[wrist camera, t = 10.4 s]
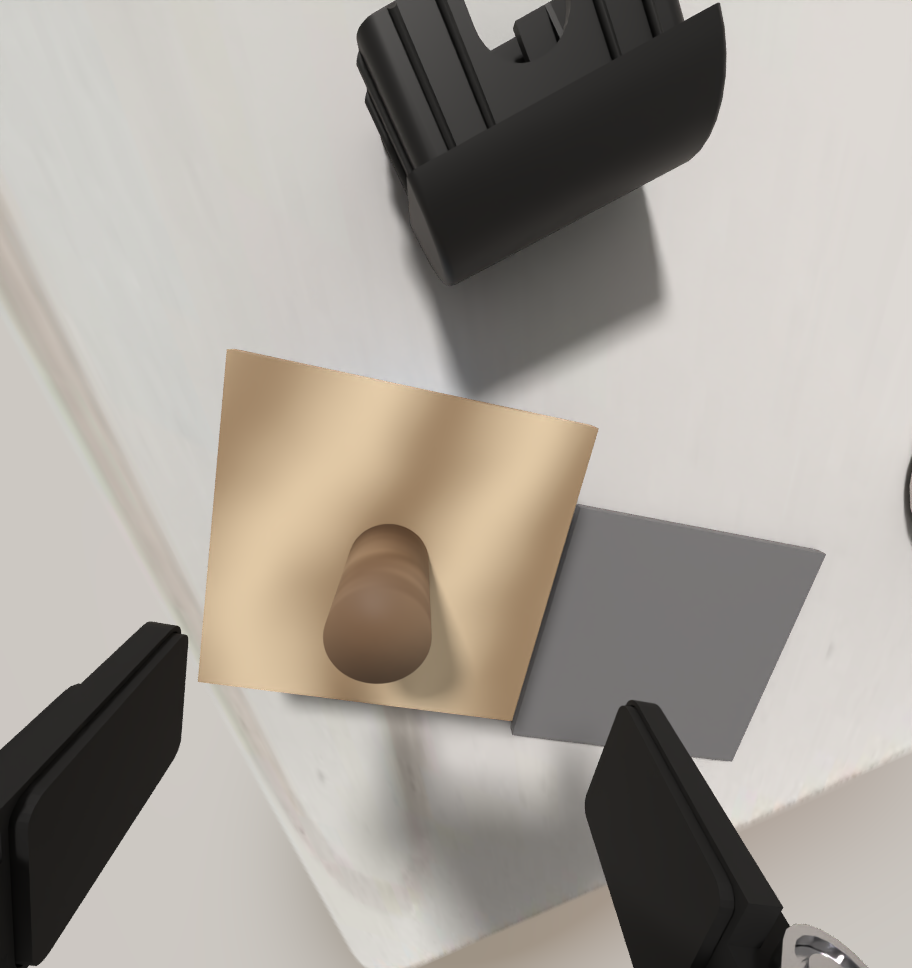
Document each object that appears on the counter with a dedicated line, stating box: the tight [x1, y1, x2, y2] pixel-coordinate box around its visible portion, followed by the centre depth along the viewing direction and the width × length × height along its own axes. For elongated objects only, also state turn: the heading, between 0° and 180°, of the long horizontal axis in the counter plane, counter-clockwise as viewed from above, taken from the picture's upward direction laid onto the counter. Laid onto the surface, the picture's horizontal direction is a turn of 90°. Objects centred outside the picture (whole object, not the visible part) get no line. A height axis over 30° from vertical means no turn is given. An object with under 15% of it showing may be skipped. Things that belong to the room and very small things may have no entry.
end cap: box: [357, 0, 726, 286], centre depth 17 cm, size 10×7×7 cm
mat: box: [511, 504, 826, 761], centre depth 26 cm, size 14×14×1 cm
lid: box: [198, 349, 599, 721], centre depth 16 cm, size 13×13×6 cm
